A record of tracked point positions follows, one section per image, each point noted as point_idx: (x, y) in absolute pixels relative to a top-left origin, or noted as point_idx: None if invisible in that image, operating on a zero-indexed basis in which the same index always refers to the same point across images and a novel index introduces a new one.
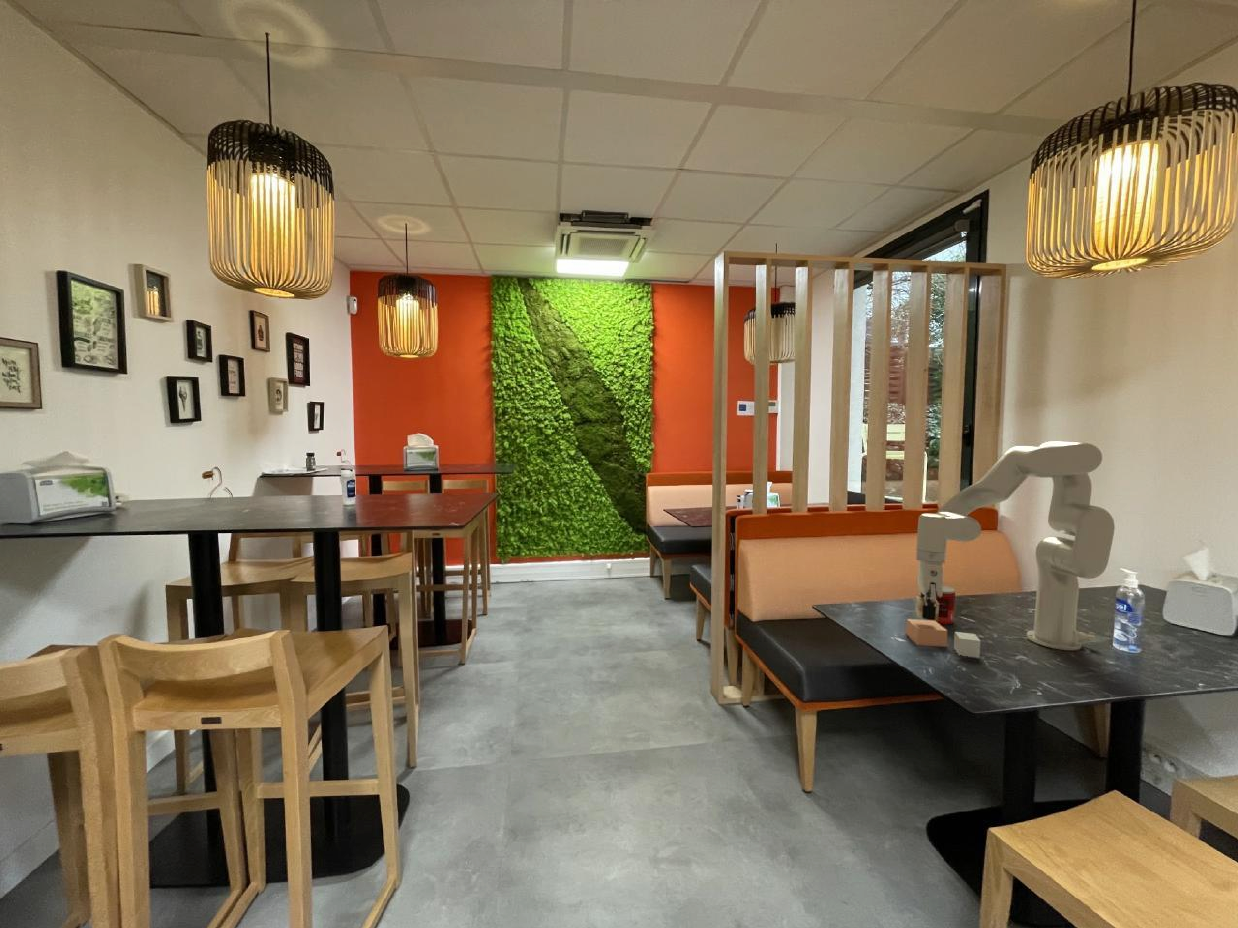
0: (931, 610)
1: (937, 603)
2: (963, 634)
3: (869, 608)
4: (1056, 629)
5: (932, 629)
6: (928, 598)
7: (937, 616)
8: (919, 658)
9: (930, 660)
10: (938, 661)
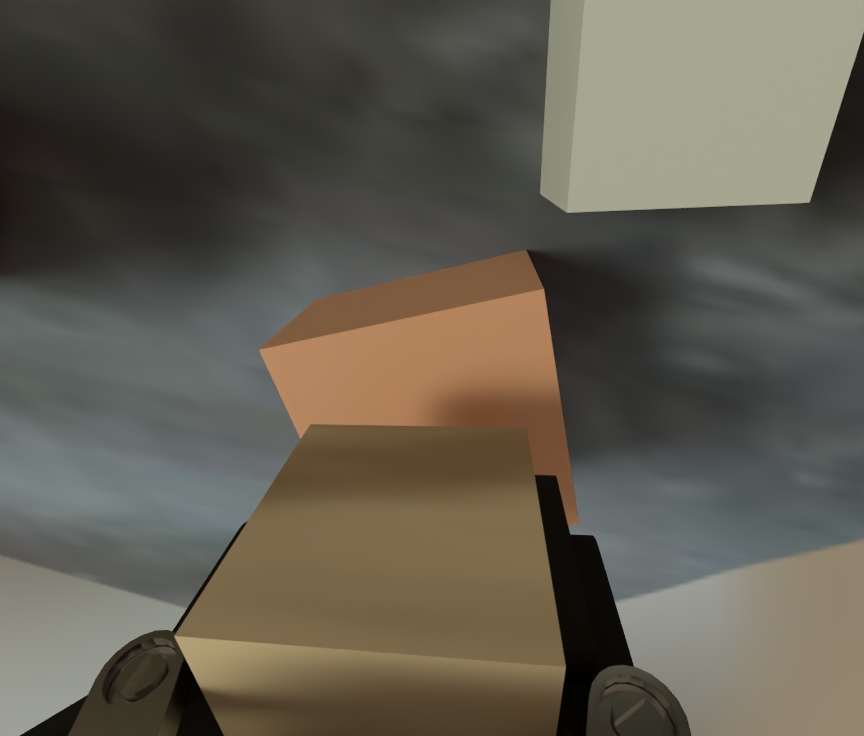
0: (614, 631)
1: (547, 682)
2: (647, 114)
3: (54, 560)
4: None
5: (552, 420)
6: (254, 715)
7: (529, 467)
8: (806, 465)
9: (838, 411)
10: (855, 366)
